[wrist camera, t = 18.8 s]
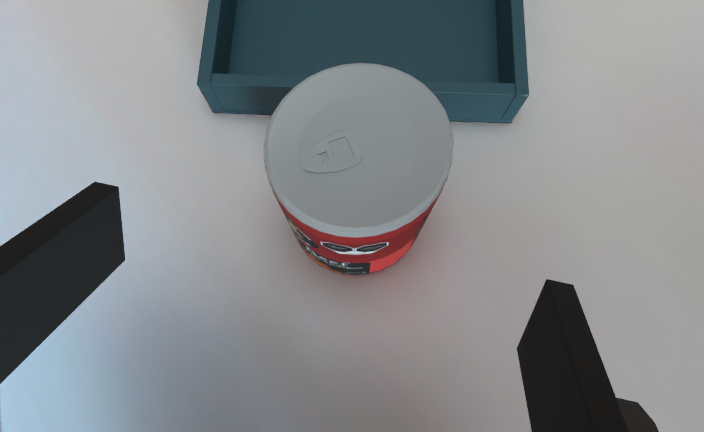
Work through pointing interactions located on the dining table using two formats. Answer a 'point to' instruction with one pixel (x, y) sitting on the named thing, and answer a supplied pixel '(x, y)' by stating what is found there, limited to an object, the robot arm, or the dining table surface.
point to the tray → (367, 50)
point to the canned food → (358, 163)
